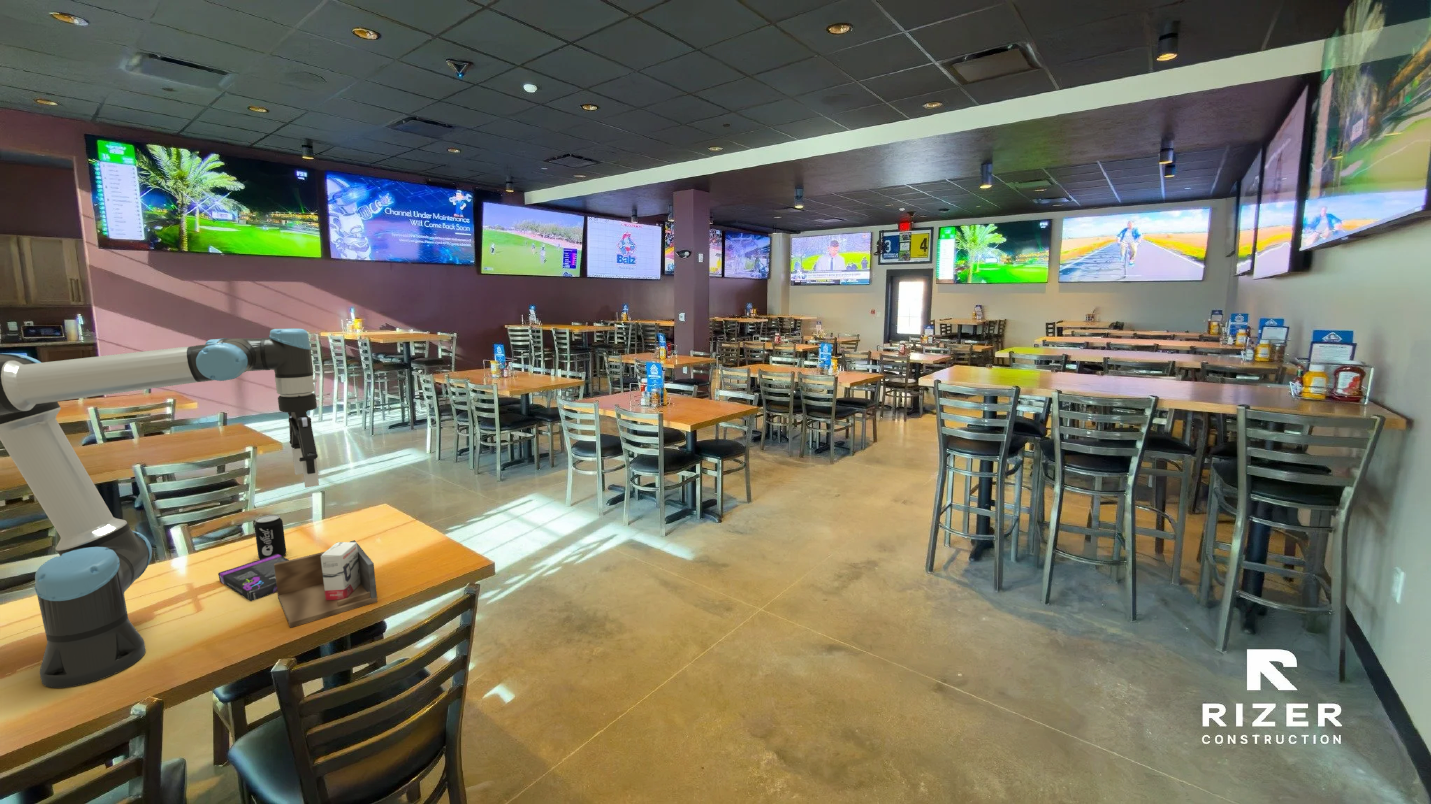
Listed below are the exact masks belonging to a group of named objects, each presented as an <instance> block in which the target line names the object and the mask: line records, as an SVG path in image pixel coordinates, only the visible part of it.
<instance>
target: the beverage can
mask: <svg viewBox="0 0 1431 804" xmlns="http://www.w3.org/2000/svg"><path fill="white" fill-rule="evenodd" d="M253 526H254V534H255V541H256V549H257V557H258V560H260V559H263V558H266V557H269V556H272V555H274V554H279V555H281V556H283V557H285V555H286V554H287V546H286V538H285V537H286V536H285V532H284V530H285V529H284V523H283V519H282V518H281V516H280V514H268V515H263V516H260V517H257V518H256V519H255V522H254V525H253Z"/></svg>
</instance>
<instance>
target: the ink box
mask: <svg viewBox="0 0 1431 804" xmlns="http://www.w3.org/2000/svg"><path fill="white" fill-rule="evenodd" d="M357 544H358V541H356V542H350V541H342V542H340V541H339V542H336V543H334V544H333V545H332V546H330V547H329V548H328V549H327V550H326V552H325V551H323V552H324V553H323V554H322V556H321V565H322V573H323V581H324V589H325V598H326V600H340V599H345V598H347V597H348V596H349V595H350V594H351V593H352V592H353V591H354V590H355V589H356V588H357V587H358V586H359V585H360V584H361V581H360V571H359V560H358V550H357Z"/></svg>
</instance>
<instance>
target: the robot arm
mask: <svg viewBox="0 0 1431 804" xmlns="http://www.w3.org/2000/svg"><path fill="white" fill-rule="evenodd" d="M312 358H313V357H312V347H311V343H310V337H309V332H308V331H307V330H306V329H303V328H274V329H270V331H269V336H268V337H261V338H260V337H257V338H256V337H254V338H253V337H252V338H251V337H249V338H246V337H244V338H243V337H241V338H239V337H238V338H229V337H224V338H223V337H222V338H217V339H216V338H215V339H213V338H212V339H209V340H208V339H207V341H206V342H205V344H197V345H193V346H192V345H191V346H182V347H170V348H163V349H154V350H145V351H136V352H128V353H127V352H125V353H119V354H117V353H116V354H108V355H101V356H91V357H90V356H89V357H83V358H82V357H81V358H74V359H73V358H72V359H71V358H70V359H64V360H55V361H45V362H41V361H40V360H38V359H36V358H33V357H31V356H28V355H23V354H19V353H6V352H5V353H3V352H2V353H0V442H1V444H2V446H3V447H4V449H5V450H6V453H8V455H9V457H10V458H11V460H12V461H13V463H14V464H15V467H16V468H17V469H18V472H20V474H21V476H22V478H23V479H24V480H25V482H26V484H27V485H28V487H29V488H30V490H31V492H32V493H33V495H34V497H35V498H36V500H37V502H38V503H39V505H40V506H41V508H42V509H43V511H44V513H45V514H46V516H47V518H48V519H49V521H50V522H51V524H52V525H53V527H54V528H55V530H56V532H57V534H58V536H60V540H59V541H58V543H57V545H56V546H55V551H56V552H57V553H58V554H59V556H54V557H52V558H50V559H49V560H47V561H45V562H43V563H42V564H41V565H40V566H39V567H38V568H37V570H36V571H35V575H34V580H35V582H34V592H35V593H36V596H37V601H38V605H39V609H40V615H41V618H42V624H43V628H44V634H45V638H46V646H45V649H44V654H43V658H42V661H41V665H40V669H39V675H40V680H41V684H42V685H43V686H45V687H46V688H47V687H48V688H54V689H59V688H61V689H62V688H63V689H64V688H70V687H71V688H72V687H76V686H82V685H86V684H89V683H90V684H91V683H93V682H96V681H100V680H102V679H106V678H108V677H110V676H113V675H115V674H117V673H119V672H120V673H121V672H122V671H124V670H125V669H128V668H130V667H131V666H133V665H134V664H136V663H137V662H139V660H141V659H142V658H143V657H144V655H145V653H146V651H147V648H146V643H145V640H144V638H143V637H142V636H141V634H140V633H139V631H138V630H137V628H135V626H134V625H133V623H132V622H131V620H130V619H129V616H128V615H129V614H128V609H127V604H126V598H125V592H126V591H127V590H129V588H130V587H131V586H132V585H133V584H134V582H135V581H136V580H138V579H139V578H140V577H142V575H143V574H144V573H145V572H146V571H147V568H148V566H149V564H150V562H151V561H152V556H153V548H152V544H151V542H150V541H149V539H148V537H146V535H144V534H142V533H141V532H139V531H135V530H132V528H131V525H129V523H128V522H127V520H125V519H120V518H116V517H114V516H113V514H112V512H111V511H110V509H109V507H108V505H107V504H106V502H105V501H104V499H103V497H102V495H101V494H100V492H99V490H98V488H97V487H96V484H95V483H94V482H93V480H92V478H91V476H90V475H89V473H88V472H87V470H86V468H85V466H84V465H83V463H82V461H81V459H80V457H79V456H78V455H77V453H76V451H75V449H74V447H73V446H72V444H71V443H70V441H69V439H68V437H67V436H66V434H65V432H64V431H63V428H62V427H61V425H60V423H59V422H58V420H57V416H58V415H59V413H60V411H61V410H62V408H61V405H60V404H59V402H60V401H68V400H75V399H77V400H78V399H82V398H83V399H84V398H90V397H97V396H106V395H112V394H121V393H122V394H123V393H127V392H135V391H136V392H137V391H142V390H151V389H158V388H165V387H173V386H179V385H180V386H181V385H189V384H195V383H202V382H203V383H205V382H212V381H217V382H224V381H225V382H226V381H231V380H234V379H237V378H238V377H240V376H241V375H242V374H244V373H246V372H258V371H274V382H275V389H276V394H278V397H277V402H278V403H277V404H278V411H280V412H281V413H286V414H288V424H289V426H288V427H289V444H290V447H291V452H292V461H293V468H294V475H295V476H297V475H303V479H304V480H303V481H304V488H305V489H306V488H311V487H317V486H320V482H319V474H318V465H317V459H318V457H319V455H318V453H317V447H316V446H317V445H316V442H315V437H314V432H313V426H312V418H311V416H309V415H308V414H307V412H308V411H314V410H316V409H317V407H318V404H317V403H318V402H317V394H316V393H314V392H315V390H316V387H315V384H314V383H317V382H318V380H317V378H314V366H313V359H312Z"/></svg>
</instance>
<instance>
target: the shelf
mask: <svg viewBox="0 0 1431 804" xmlns="http://www.w3.org/2000/svg"><path fill="white" fill-rule="evenodd" d="M349 542H357V541H356V540H349ZM357 550H358V560H359V571H360V581H361V584H360V585H359V586H358V587H357V588H356V589H355V590H354V591H353V592H352V593H351V594H350V595H349V596H348V597H347V598H345V599H340V600H326V598H325V589H324V581H323V573H322V565H321V556H322V554H323V553H324V552H326V551H327V550H326V551H322V552H321V551H320V552H318V553H314V554H309V555H305V556H300V557H297V558H292V559H288V561H283V562H279V563H275V564H274V569H275V577H276V585H277V592H276V593H277V599H278V601H279V603H280V606H281V608H282V610H283V612H284V615H285V618H286V620H287V622H288V625H289V627H290V628H295V627H299V626H301V625H304V624H307V623H312V622H314V621H318V620H321V619H325V618H327V617H331V616H334V615H339V614H340V613H344V612H347V611H348V612H349V611H350V610H351V611H352V610H354V609H357V608H360V607H366V606H368V605H371V604H375V603H377V602H378V593H377V584H376V582H377V581H376V574H375V573H376V572H375V565H374V562H373V560H371V558H370V557H369V555H367V553H366V552H365V551H364V549H363V548H362V547H361V546H360V544H359V543H357Z"/></svg>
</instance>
